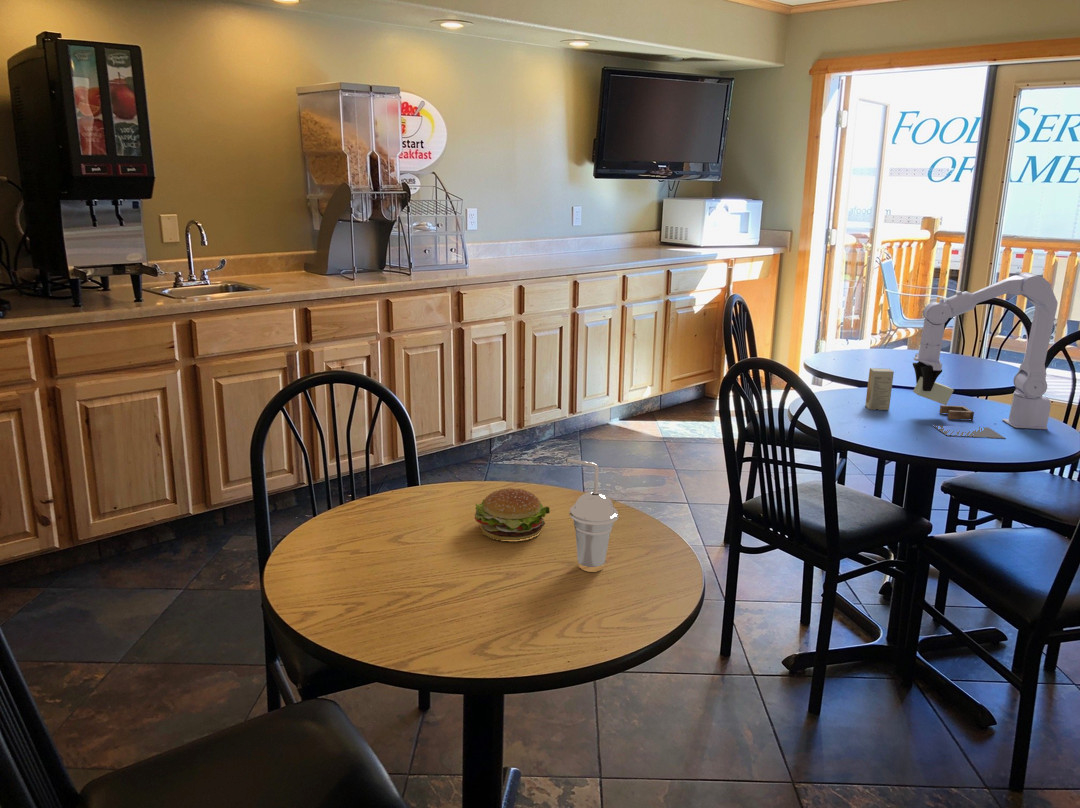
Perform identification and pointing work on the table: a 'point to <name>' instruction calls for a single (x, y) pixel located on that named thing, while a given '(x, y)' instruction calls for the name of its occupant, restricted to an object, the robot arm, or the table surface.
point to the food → (511, 514)
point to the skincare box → (879, 388)
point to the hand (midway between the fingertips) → (923, 388)
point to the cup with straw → (592, 522)
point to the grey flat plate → (976, 433)
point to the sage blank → (934, 392)
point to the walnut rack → (957, 412)
